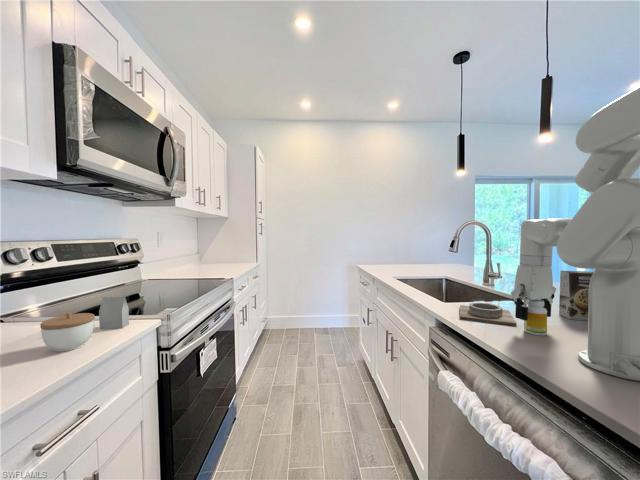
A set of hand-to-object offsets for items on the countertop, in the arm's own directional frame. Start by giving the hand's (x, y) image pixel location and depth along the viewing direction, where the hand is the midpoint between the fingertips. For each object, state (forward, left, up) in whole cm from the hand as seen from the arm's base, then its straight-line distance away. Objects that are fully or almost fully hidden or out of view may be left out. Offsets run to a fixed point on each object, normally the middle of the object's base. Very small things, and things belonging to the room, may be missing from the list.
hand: (533, 317), depth 82 cm
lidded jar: (-69, +114, -5) cm, 133 cm away
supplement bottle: (-1, 0, -5) cm, 5 cm away
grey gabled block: (-55, +121, -5) cm, 132 cm away
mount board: (+11, +12, -4) cm, 17 cm away
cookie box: (+23, -17, -5) cm, 29 cm away
